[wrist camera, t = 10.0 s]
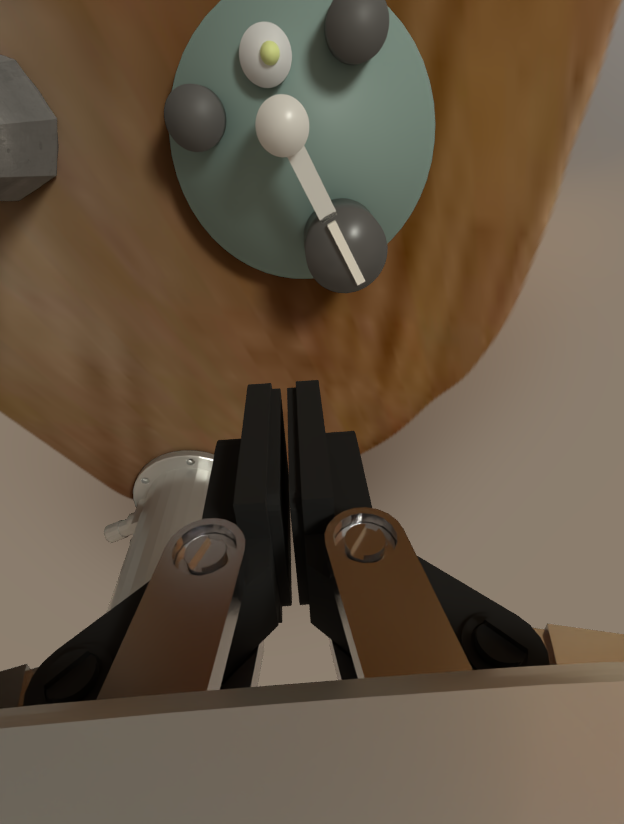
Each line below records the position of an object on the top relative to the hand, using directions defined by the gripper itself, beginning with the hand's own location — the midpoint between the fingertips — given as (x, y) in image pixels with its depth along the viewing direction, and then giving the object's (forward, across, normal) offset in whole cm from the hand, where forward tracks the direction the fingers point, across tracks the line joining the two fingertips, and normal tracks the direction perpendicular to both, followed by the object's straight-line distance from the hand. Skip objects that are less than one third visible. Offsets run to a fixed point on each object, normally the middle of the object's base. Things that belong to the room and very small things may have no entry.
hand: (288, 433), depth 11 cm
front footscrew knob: (+27, -3, -1) cm, 27 cm away
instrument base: (+29, -2, -4) cm, 29 cm away
